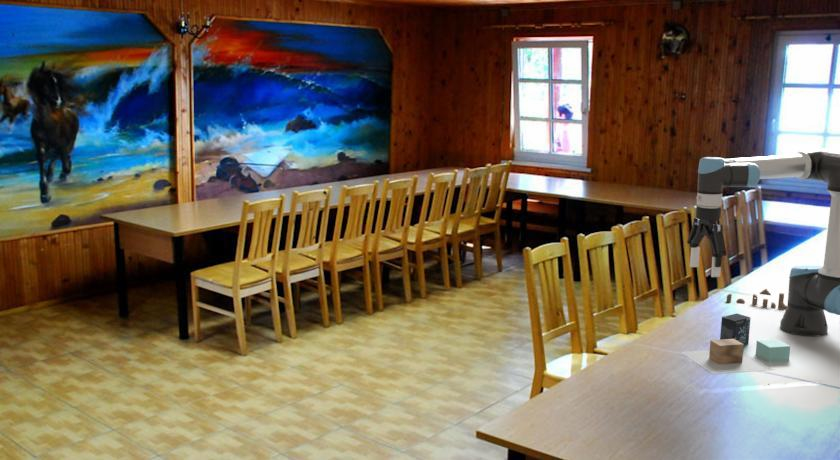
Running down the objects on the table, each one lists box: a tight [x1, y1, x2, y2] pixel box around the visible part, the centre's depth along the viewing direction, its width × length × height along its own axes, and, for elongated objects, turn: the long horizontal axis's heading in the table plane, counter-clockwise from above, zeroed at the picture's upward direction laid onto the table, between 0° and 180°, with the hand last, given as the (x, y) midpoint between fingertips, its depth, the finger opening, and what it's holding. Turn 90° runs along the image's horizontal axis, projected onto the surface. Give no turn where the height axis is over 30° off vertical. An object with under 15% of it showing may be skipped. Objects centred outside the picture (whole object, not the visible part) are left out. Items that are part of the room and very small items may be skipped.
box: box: [719, 313, 751, 346], centre depth 268 cm, size 8×6×11 cm
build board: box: [680, 349, 775, 375], centre depth 253 cm, size 20×20×1 cm
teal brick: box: [755, 338, 791, 363], centre depth 255 cm, size 7×7×6 cm
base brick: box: [709, 339, 745, 364], centre depth 252 cm, size 8×6×6 cm
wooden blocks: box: [726, 288, 787, 310], centre depth 316 cm, size 30×3×8 cm, turn 60°
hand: (704, 271), depth 260 cm, fingers open, 13 cm apart
